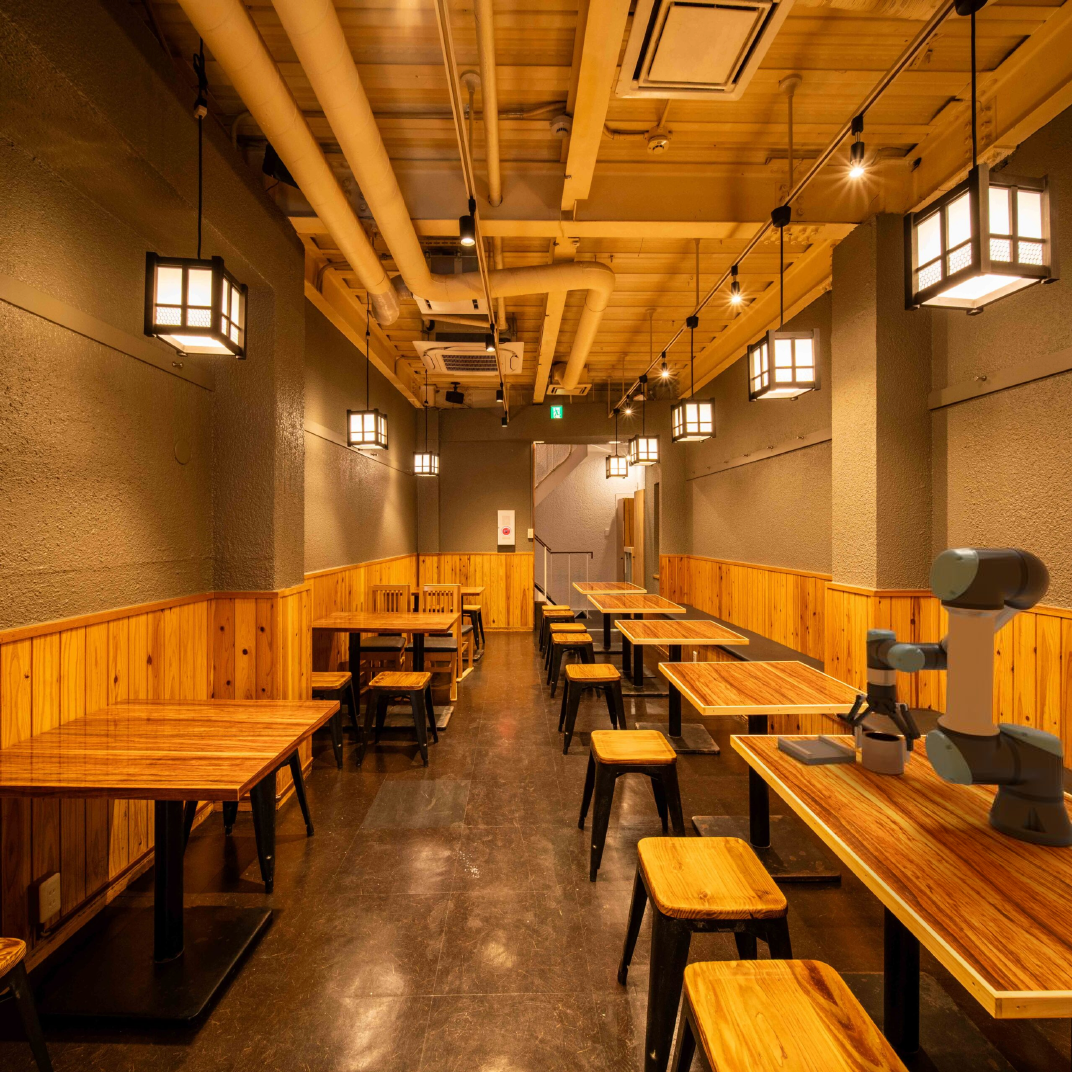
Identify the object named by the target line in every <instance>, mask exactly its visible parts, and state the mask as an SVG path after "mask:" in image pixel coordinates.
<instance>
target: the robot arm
mask: <svg viewBox="0 0 1072 1072" xmlns="http://www.w3.org/2000/svg"><path fill="white" fill-rule="evenodd" d="M928 581H929V582H928V583H929V587H930V588H931V589H930V591H931V593H932V594H933V596H934V597H936V598H938V600H939V599H940V606H941V607H942V608H943V609H944V610H945V611H946V612H947V613H948V615H947V618H948V620H947V622H948V623H947V633H946V634H945V635H944V636H943V638H942V639H940V641H938V642H902V641H898V640H897V637H896V636H897V635H896V633H895V631H893V630H889V629H882V628H881V629H880V628H878V629H877V628H876V629H875V628H873V629H868V631H867V632H866V640H865V645H866V648H865V649H866V651H865V652H866V680H867V682H866V695H864V693H858V694H856V695H855V702H854V703H853V705H852V707H851V708H850V711H849V712H848V713H847V716H846V718H845V719H844V720H845V722H846V723H848V724H850V725H851V736H852V737H854V749H856V750H859V749H862V736H861V734H862V733H863V726H862V725H861V723H862V722H863V721H865V719H866V718H867V717H868V716H869V715H870V714H872V713H874V714H877V715H882V716H883V717H886V716H887V717H888V718H889V719H890V720H892V722H893V723H894V724H895V725H894V726H896V727H897V729H898V730H899V732H900V733H901V734H902V735H903V737H904V738H903V762H904V764H906V763H909V762H911V752H913V751H914V745H915V744H914V743H915V742H914V740H915V741H916V740H919V739H921V738H922V735H921V732H920V731H919V728H918V727H917V725H916V723H915V721H914V718H913V717H912V715H911V712H910V709H909V704H908V702H904V703H902V702H901V703H900V702H899V703H898V702H897V685H896V684H895V683H896V682H897V671H900V672H902V673H909V674H914V673H917V672H918V671H946V689H945V690H946V691H945V693H946V694H945V697H946V698H945V714H943V715H941V716H940V717H938V718H937V729H933V730H929V731H928V732H927V734H926V735H925V739H924V748H925V752H926V755H927V759H928V761H929V763H930V765H931V767H932V769H933V770H934V771H935V773H936V774H937V775H938V777H939V778H941V779H942V780H943V781H945V782H947V783H949V784H955V785H963V786H997V791H996V792H997V793H996V795H995V797H994V800H993V802H992V806H991V808H990V809H989V811H988V812H989V817H988V818H989V821H988V822H989V824H990V825H991V826H992V827H993V828H994V829H996V831H999V832H1001V833H1002V834H1005V835H1007V836H1009V837H1012V838H1015V839H1018V840H1021V841H1025V842H1027V843H1028V842H1029V843H1032V844H1035V845H1042V846H1048V847H1050V846H1051V847H1069V846H1072V822H1071V819H1070V816H1069V813H1068V811H1067V808H1066V805H1065V790H1064V789H1065V788H1064V787H1065V786H1064V783H1065V782H1064V779H1065V778H1064V758H1065V755H1064V749H1063V743H1062V741H1061V740H1060V738H1059V737H1058V736H1057V735H1054V734H1052V733H1050V732H1048V731H1045V730H1041V729H1038V728H1034V727H1029V726H1026V725H1020V724H1016V723H1008V722H999V723H997V725H996V724H995V722H993V721H992V720H993V689H994V659H995V658H994V657H995V656H994V655H995V636H996V635H997V634H998V632H1000V631H1001V630H1002V629H1003V628H1004V627H1006V625H1007V624H1008V623H1009V622H1011V621H1012V620H1013V619H1014V618H1015V617H1016V616H1017V615H1018V614H1020V613H1021V612H1022V611H1029V610H1031V609H1033V608H1034V607H1035V606H1037V604H1038V603H1040V602H1041V600H1042V599H1043V598H1044V597H1045V596H1046V594H1047V592H1048V590H1049V587H1050V583H1051V582H1050V581H1051V576H1050V571H1049V569H1048V568H1047V565H1046V564H1045V563H1044V562H1043V560H1042V559H1041V558H1040V557H1038V556H1037V555H1036V554H1034V553H1032V552H1029V551H1028V550H1025V549H1021V548H1015V547H1005V548H994V547H993V548H988V547H987V548H986V547H985V548H984V547H983V548H982V547H979V548H978V547H973V548H972V547H961V548H951V549H947V550H944V551H942V552H941V553H939V555H937V556H936V558H935V559H934V560H933V562H932V565H931V567H930V571H929V575H928ZM864 703H866V704H867V707H866V708H865V709H864V711H862V712H861V713H860V714H859V715H858V716H857V714H858V713H859V712H860V709H861V708H862V706H863V704H864ZM896 709H898V711H899V712H900V715H901V717H902V718H903V719H902V718H901V717H900V715H899V713H898V711H897V710H896ZM856 716H857V717H856Z"/></svg>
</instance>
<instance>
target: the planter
mask: <svg viewBox="0 0 1072 1072" xmlns="http://www.w3.org/2000/svg"><path fill="white" fill-rule="evenodd" d="M861 736H862V748H861V756H860V757H861V762H860V763H861V766H863V768H864V769H866V770H868V771H870V772H872V773H875V774H880V775H885V776H896V775H901V774H903V773H905V763H904V762H903V739H904V738H903V737H902V736H900V735H898V734H895V733H892V732H886V731H879V730H866V731H862V734H861Z"/></svg>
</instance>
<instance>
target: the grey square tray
mask: <svg viewBox="0 0 1072 1072" xmlns="http://www.w3.org/2000/svg"><path fill="white" fill-rule="evenodd" d="M817 737H818V738H817V739H802V740H801V739H799V740H788V739H786V738H785V737H782V736H778V737H777V748H778V750H781V751H783V752H784V753H786V754H788V755H789V756H791V757H792V758H794V759H796V760H798V761H799V762H801V763H802V764H804V765H807V766H819V765H835V764H849V763H850V764H851V763H857V750H854V749H852V748H850V747H848V746H847V745H844V744H842V743H841V742H839V741H836V740H834V739H832V738H830V737H827V736H826V735H823V734H819V735H818V736H817Z"/></svg>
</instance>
